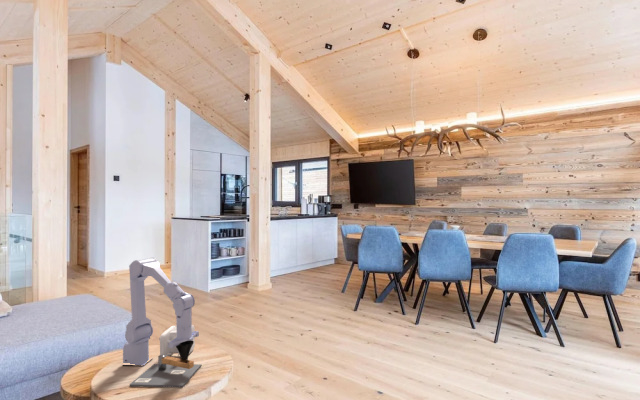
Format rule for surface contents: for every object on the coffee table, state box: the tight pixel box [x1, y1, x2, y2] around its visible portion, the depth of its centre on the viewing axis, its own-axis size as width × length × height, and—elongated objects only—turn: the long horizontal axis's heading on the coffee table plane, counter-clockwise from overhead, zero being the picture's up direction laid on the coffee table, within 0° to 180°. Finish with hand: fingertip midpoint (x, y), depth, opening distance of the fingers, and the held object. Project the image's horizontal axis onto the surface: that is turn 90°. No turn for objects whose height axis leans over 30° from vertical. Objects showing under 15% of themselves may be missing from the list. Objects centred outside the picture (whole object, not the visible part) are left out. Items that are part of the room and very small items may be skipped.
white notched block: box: [159, 324, 196, 357], centre depth 168 cm, size 15×11×12 cm
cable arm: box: [157, 354, 195, 371], centre depth 149 cm, size 16×3×5 cm, turn 66°
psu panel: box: [129, 363, 202, 389], centre depth 147 cm, size 20×18×1 cm
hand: (184, 360), depth 150 cm, fingers closed
